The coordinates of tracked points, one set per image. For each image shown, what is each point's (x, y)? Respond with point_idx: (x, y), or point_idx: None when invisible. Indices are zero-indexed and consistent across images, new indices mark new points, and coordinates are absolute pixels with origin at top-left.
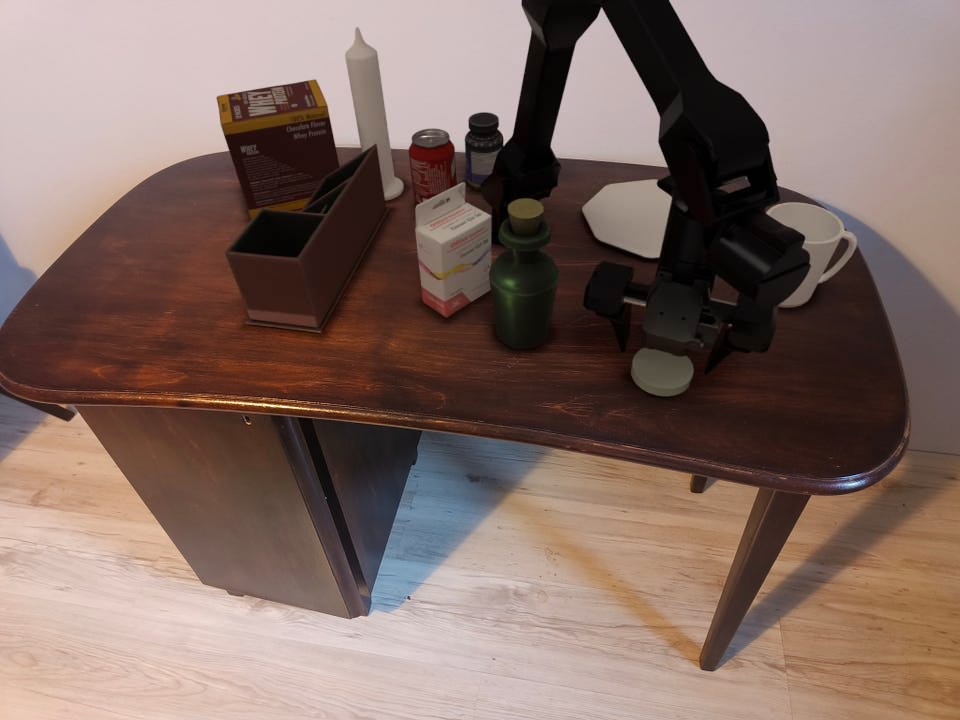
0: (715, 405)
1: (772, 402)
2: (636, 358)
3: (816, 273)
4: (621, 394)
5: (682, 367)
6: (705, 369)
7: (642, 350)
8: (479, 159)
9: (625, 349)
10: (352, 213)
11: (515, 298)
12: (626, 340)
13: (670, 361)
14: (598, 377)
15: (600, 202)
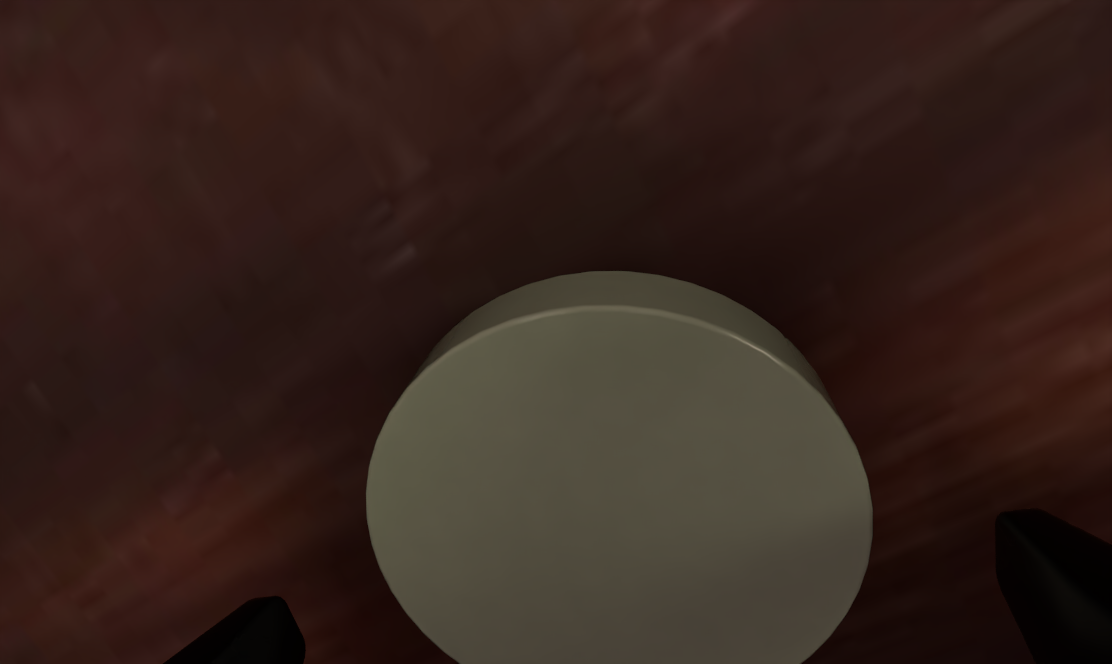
0: (226, 426)
1: (38, 584)
2: (845, 516)
3: None
4: (806, 168)
5: (473, 590)
6: (229, 641)
7: (829, 611)
8: None
9: (1004, 554)
10: None
11: None
12: (1101, 661)
13: (578, 603)
14: (1062, 231)
15: None
